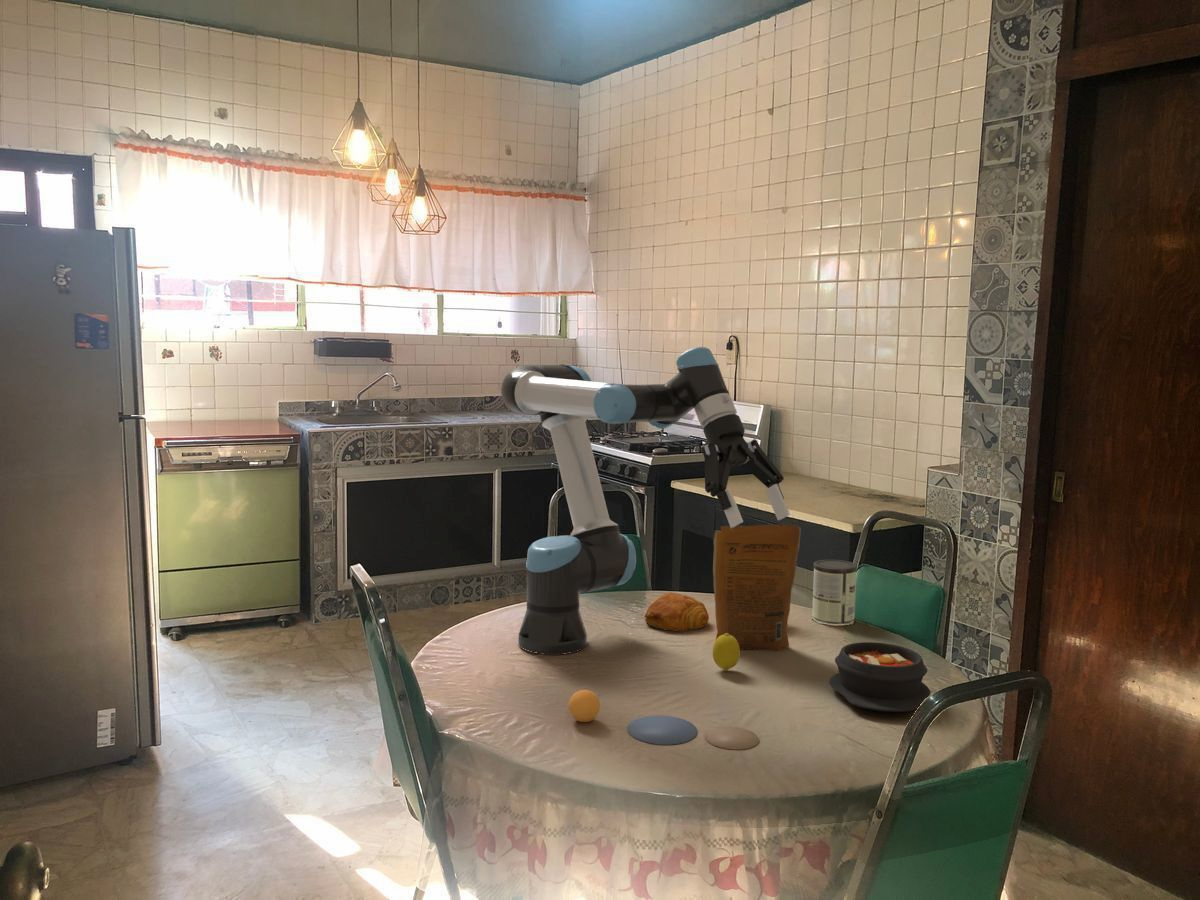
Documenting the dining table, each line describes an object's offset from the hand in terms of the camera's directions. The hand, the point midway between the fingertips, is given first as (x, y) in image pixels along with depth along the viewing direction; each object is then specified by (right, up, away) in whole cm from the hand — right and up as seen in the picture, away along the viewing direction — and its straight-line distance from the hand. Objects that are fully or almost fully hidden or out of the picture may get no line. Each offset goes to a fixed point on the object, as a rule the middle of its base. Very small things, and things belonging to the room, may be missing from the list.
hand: (761, 521), depth 175 cm
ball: (-33, -32, -11) cm, 47 cm away
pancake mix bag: (+4, -31, +31) cm, 44 cm away
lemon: (-5, -32, +16) cm, 36 cm away
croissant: (-13, -29, +49) cm, 58 cm away
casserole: (+23, -34, +3) cm, 41 cm away
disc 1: (-20, -35, -14) cm, 43 cm away
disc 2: (-8, -35, -17) cm, 40 cm away
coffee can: (+27, -29, +53) cm, 66 cm away
